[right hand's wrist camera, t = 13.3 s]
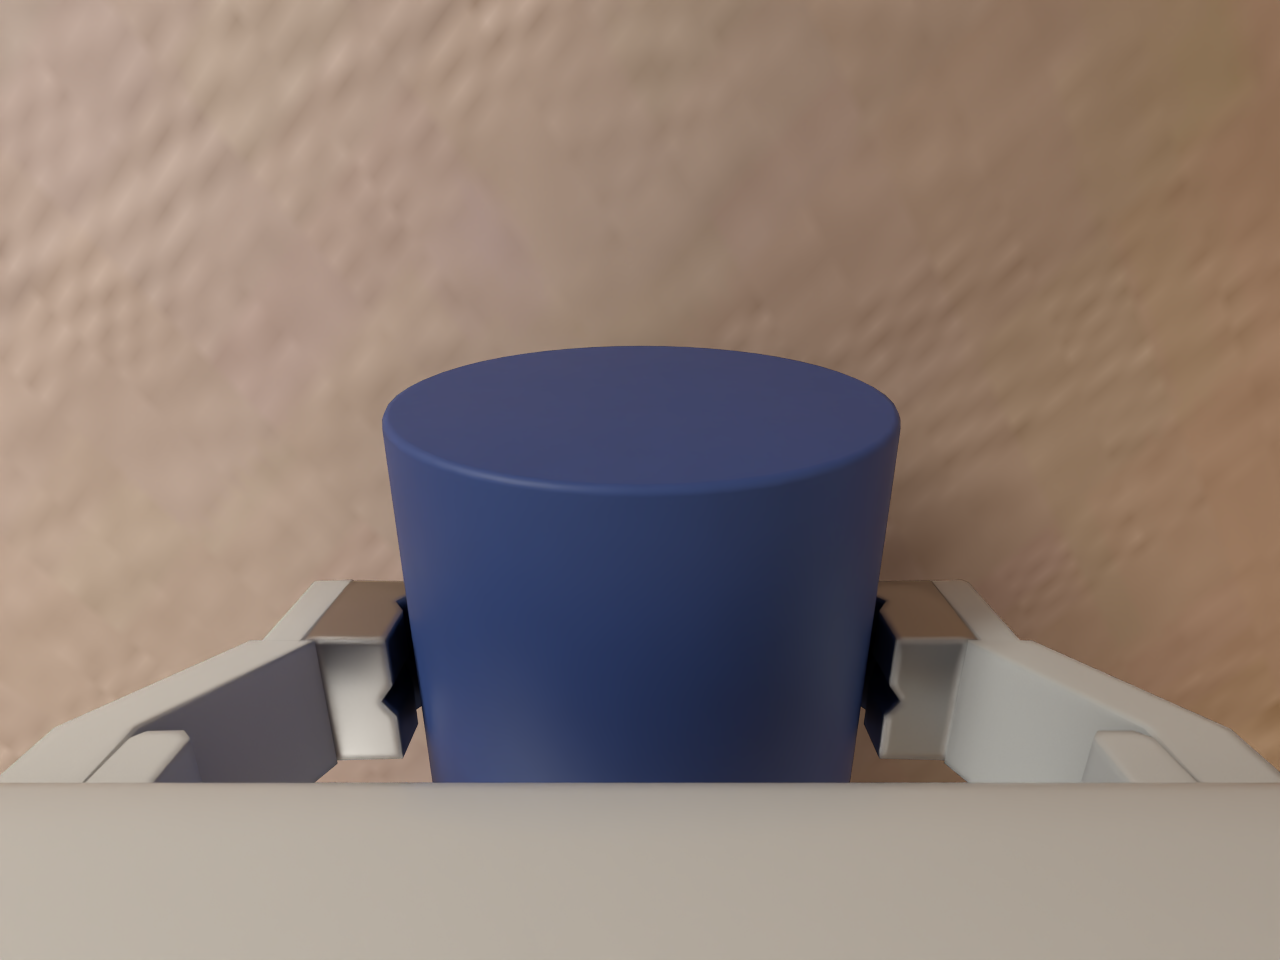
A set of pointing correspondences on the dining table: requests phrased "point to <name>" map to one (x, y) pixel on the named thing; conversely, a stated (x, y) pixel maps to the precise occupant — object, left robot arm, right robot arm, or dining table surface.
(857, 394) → the cylinder
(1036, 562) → the dining table surface
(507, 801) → the right robot arm
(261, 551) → the dining table surface
